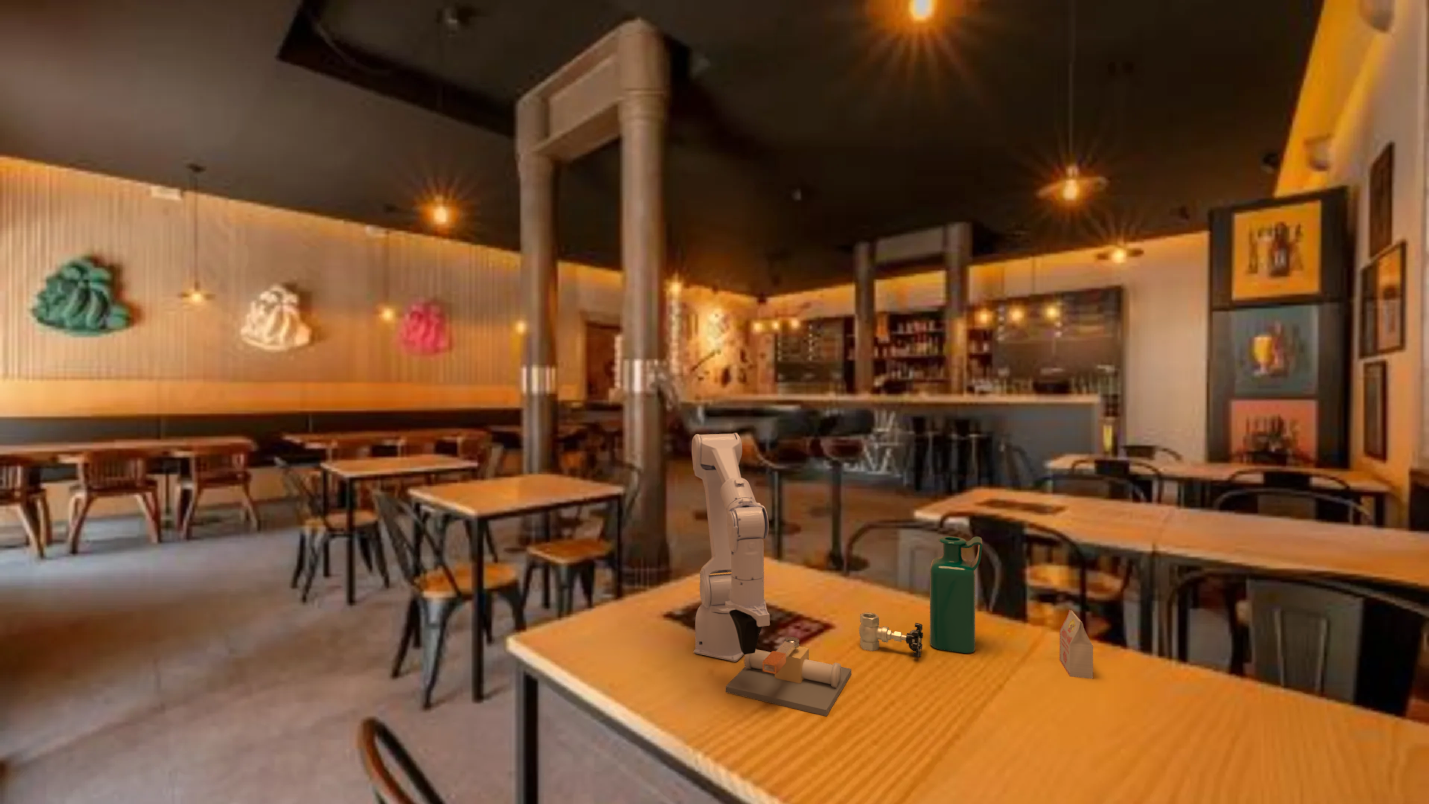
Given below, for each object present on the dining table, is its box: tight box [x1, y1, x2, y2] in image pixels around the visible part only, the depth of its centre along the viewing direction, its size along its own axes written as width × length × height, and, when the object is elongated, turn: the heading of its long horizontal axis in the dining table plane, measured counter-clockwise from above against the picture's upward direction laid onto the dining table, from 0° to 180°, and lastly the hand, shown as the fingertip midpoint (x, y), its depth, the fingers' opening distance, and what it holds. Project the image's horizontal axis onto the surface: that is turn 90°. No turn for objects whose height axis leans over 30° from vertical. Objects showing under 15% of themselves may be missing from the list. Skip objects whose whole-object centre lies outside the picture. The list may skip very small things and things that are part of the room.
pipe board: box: [725, 645, 852, 717], centre depth 109 cm, size 18×16×5 cm
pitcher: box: [929, 535, 983, 654], centre depth 125 cm, size 10×8×22 cm
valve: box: [858, 612, 924, 658], centre depth 122 cm, size 7×7×12 cm
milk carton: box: [1059, 609, 1094, 680], centre depth 114 cm, size 4×7×10 cm, turn 165°
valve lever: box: [763, 636, 800, 674], centre depth 106 cm, size 12×3×2 cm, turn 153°
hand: (748, 652), depth 108 cm, fingers closed
